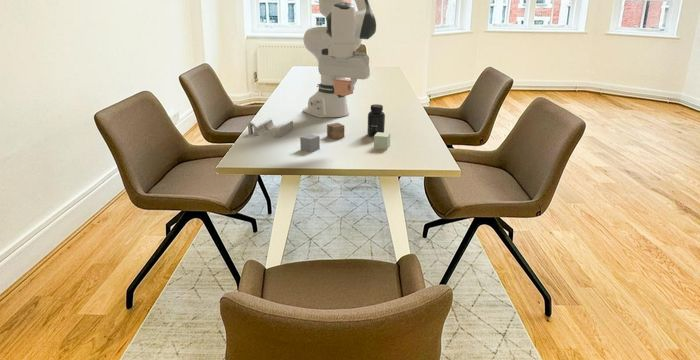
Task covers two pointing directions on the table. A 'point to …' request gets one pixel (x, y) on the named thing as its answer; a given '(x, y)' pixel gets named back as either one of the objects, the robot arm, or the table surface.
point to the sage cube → (381, 140)
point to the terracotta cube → (342, 87)
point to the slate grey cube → (310, 142)
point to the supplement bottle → (376, 120)
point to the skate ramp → (268, 128)
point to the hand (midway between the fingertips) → (343, 89)
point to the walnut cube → (335, 130)
